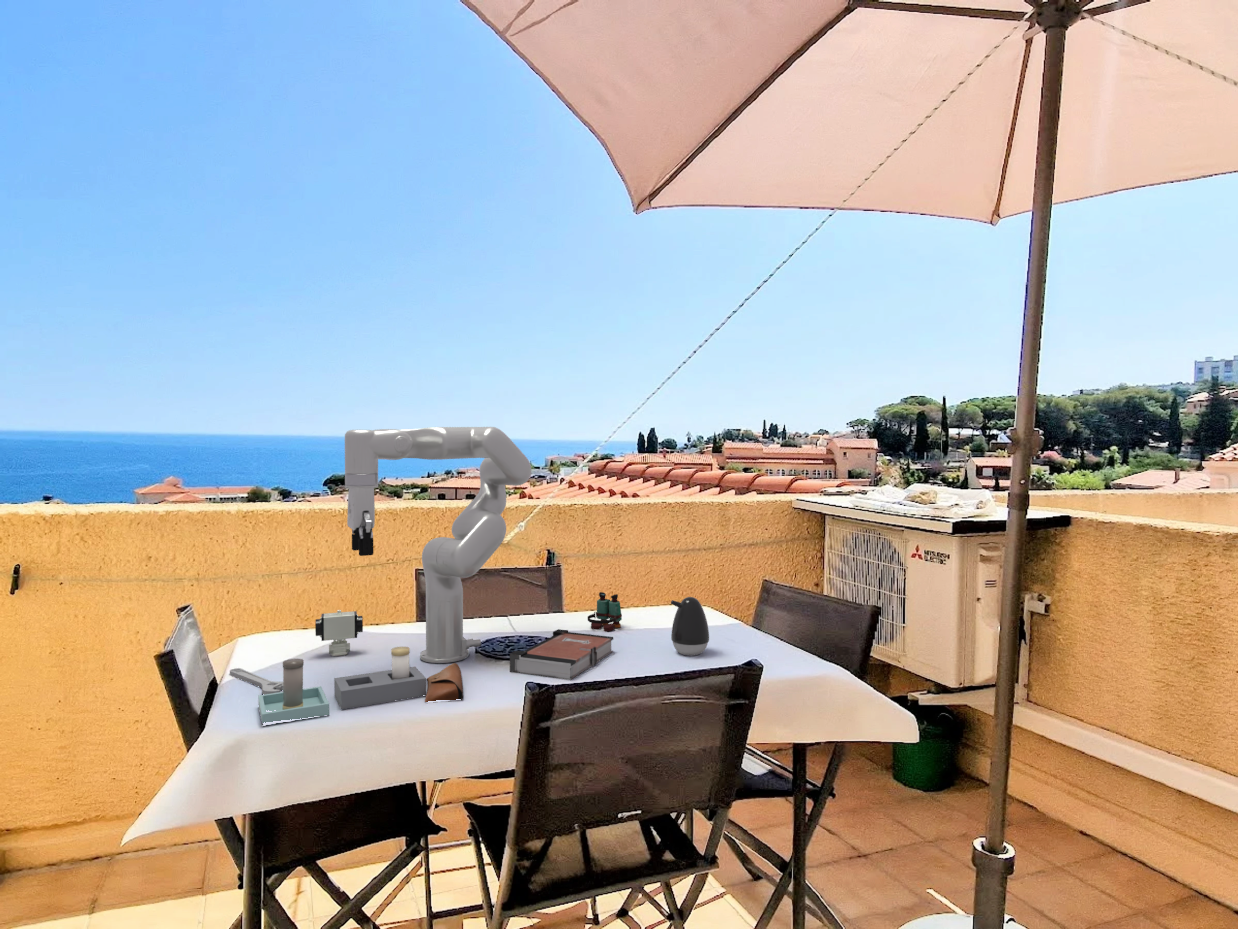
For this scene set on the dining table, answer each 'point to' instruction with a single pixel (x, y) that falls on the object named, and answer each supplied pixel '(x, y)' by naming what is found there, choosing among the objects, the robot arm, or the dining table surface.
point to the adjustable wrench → (257, 681)
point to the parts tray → (312, 706)
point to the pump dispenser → (689, 627)
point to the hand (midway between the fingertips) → (362, 552)
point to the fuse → (400, 662)
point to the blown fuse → (292, 683)
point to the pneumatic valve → (339, 630)
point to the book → (561, 655)
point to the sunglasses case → (445, 684)
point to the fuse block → (377, 688)
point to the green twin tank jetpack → (606, 613)
